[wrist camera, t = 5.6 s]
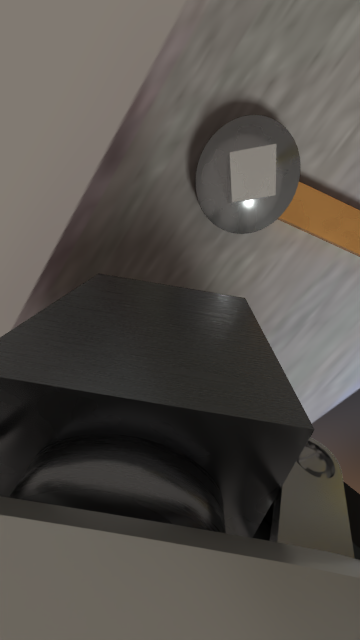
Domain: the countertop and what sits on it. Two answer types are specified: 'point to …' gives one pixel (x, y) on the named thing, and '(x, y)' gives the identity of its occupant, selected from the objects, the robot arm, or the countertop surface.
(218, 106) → the countertop surface
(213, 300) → the socket
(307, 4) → the countertop surface
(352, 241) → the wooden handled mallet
